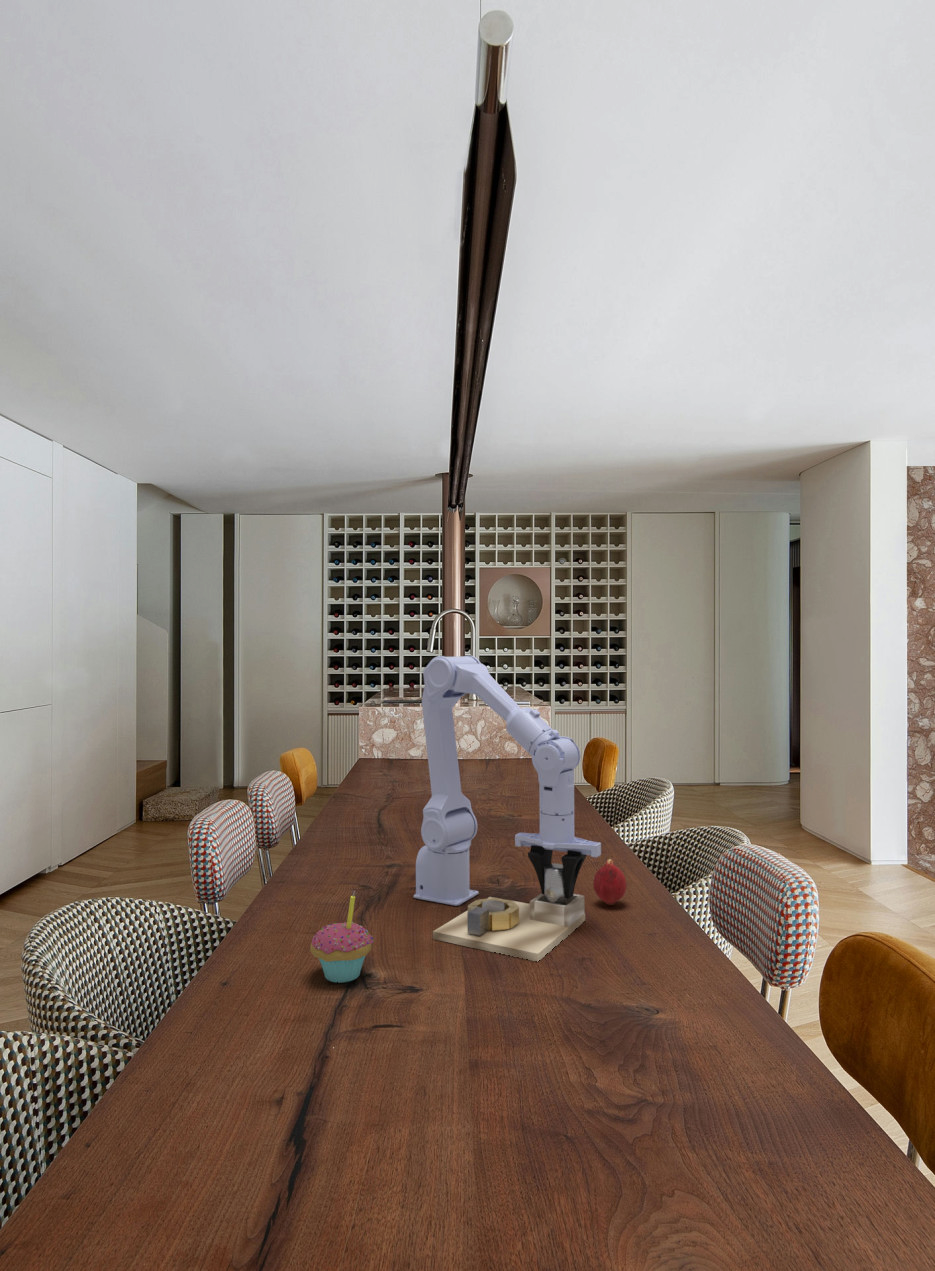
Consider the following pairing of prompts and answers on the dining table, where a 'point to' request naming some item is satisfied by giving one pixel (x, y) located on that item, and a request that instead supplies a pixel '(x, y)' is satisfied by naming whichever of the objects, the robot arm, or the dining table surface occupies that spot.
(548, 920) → the board
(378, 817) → the dining table surface
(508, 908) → the ring nut
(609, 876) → the onion
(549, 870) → the pin
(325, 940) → the cupcake
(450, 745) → the robot arm
